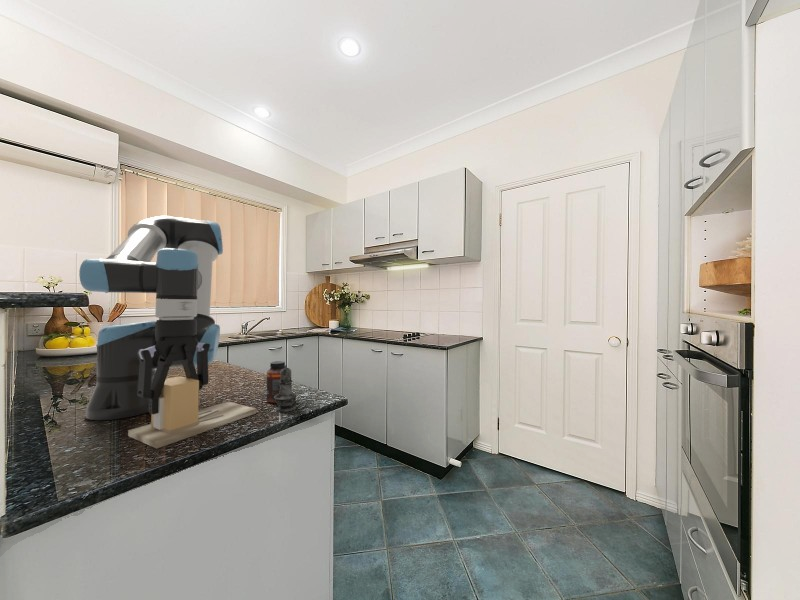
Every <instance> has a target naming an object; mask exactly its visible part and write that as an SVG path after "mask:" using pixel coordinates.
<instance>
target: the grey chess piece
mask: <svg viewBox="0 0 800 600" xmlns="http://www.w3.org/2000/svg"><path fill="white" fill-rule="evenodd" d="M279 383H280V391H279V394H277V395H275V396H274V398H275V401H276V403H275V404H276V405H277V407H276V408H275V409H274V411H275V412H276V413H288V412H289V411H290V412H292V410H293V411H295V410H296V409H297V408H296V406H295V405H293V404H294V403H295V401H296V400H297V397H298V394H297V393H296V392H293V389H292V388H293V386H292V385H293V384H292V383H293V380H292V369H291V368H288V364H285V368H284V369H282V370H281V372H280V382H279ZM295 408H296V409H295ZM294 409H295V410H294Z"/></svg>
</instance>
